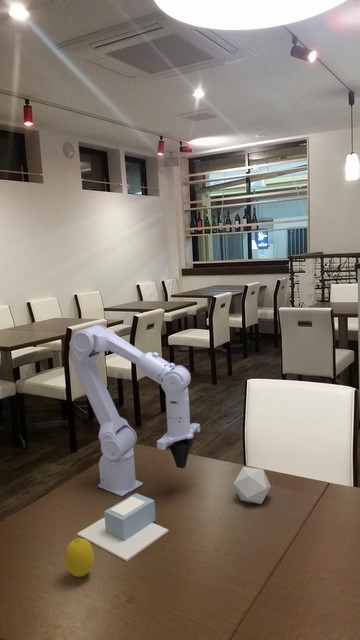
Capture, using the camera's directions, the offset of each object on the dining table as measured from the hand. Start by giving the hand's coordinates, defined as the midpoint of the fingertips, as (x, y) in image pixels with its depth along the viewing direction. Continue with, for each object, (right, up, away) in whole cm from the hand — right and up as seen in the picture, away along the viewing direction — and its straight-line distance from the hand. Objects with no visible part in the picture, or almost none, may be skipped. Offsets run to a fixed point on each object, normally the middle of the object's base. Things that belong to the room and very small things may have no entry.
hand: (181, 466), depth 125 cm
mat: (-13, -11, -15) cm, 22 cm away
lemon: (-20, -13, -29) cm, 37 cm away
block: (-8, -7, -9) cm, 14 cm away
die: (+18, -7, -3) cm, 20 cm away
